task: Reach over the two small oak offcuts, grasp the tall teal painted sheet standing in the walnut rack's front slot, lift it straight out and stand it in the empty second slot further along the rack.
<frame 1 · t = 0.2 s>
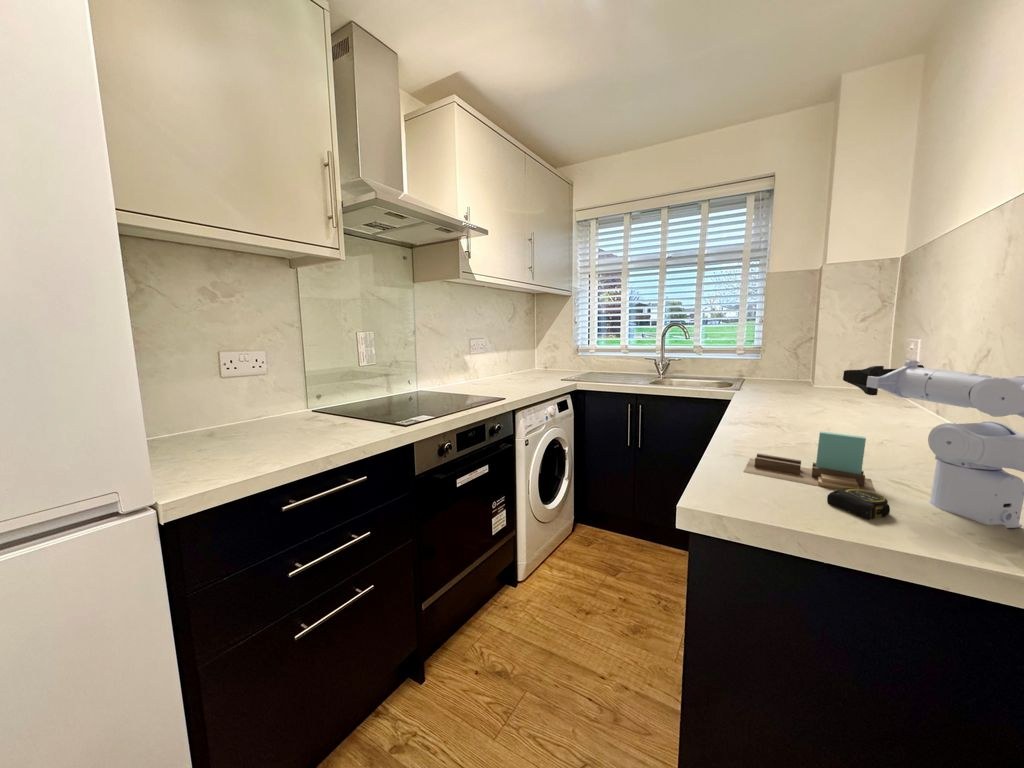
hand: (860, 374, 85), 21 cm above the countertop, fingers open, 7 cm apart
lower oak offcut: (837, 486, 78), point 1 cm above the countertop, touching upper oak offcut, walnut rack
teal sheet: (836, 478, 82), point 1 cm above the countertop, touching walnut rack
tape measure: (857, 518, 68), on the countertop
walnut rack: (805, 480, 83), on the countertop
upper oak offcut: (838, 482, 77), point 2 cm above the countertop, touching lower oak offcut
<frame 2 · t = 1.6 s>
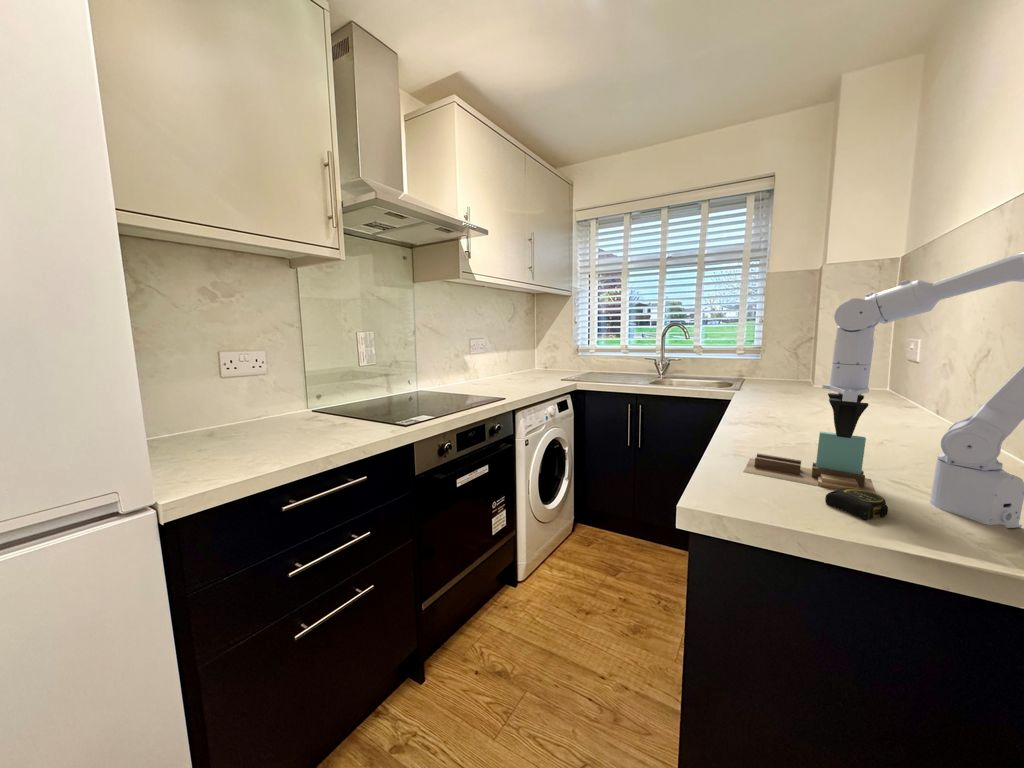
hand: (842, 432, 80), 10 cm above the countertop, fingers open, 7 cm apart
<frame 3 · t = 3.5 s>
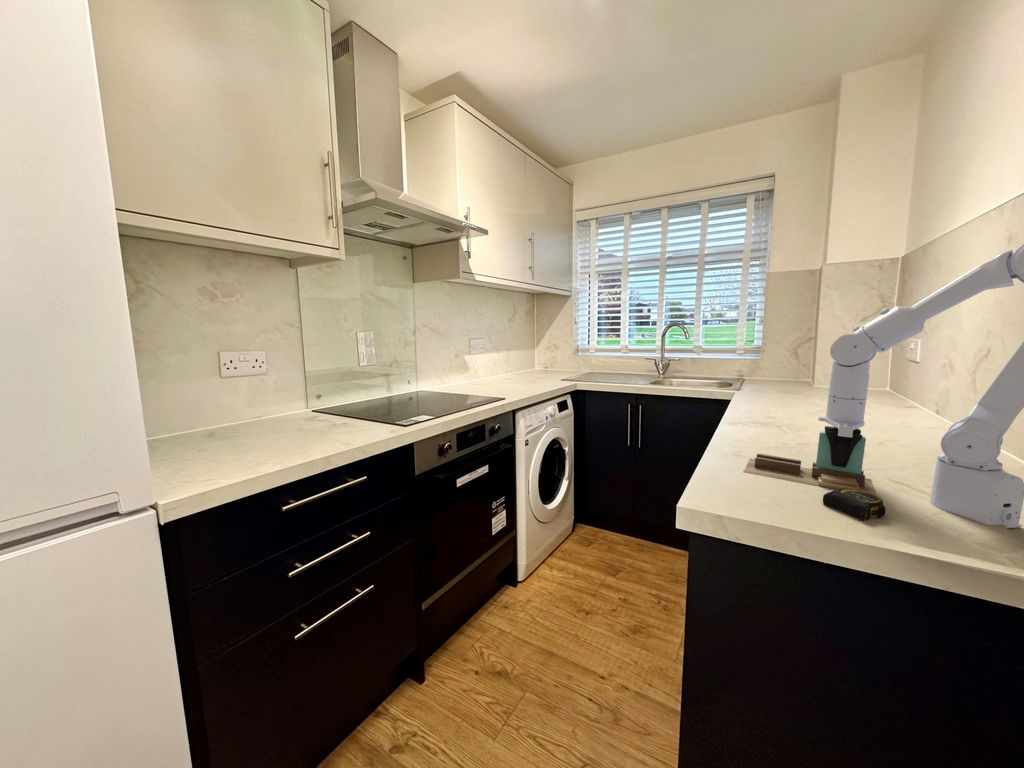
hand: (838, 464, 81), 4 cm above the countertop, fingers closed on teal sheet, 1 cm apart
teal sheet: (836, 478, 82), point 1 cm above the countertop, touching gripper, walnut rack
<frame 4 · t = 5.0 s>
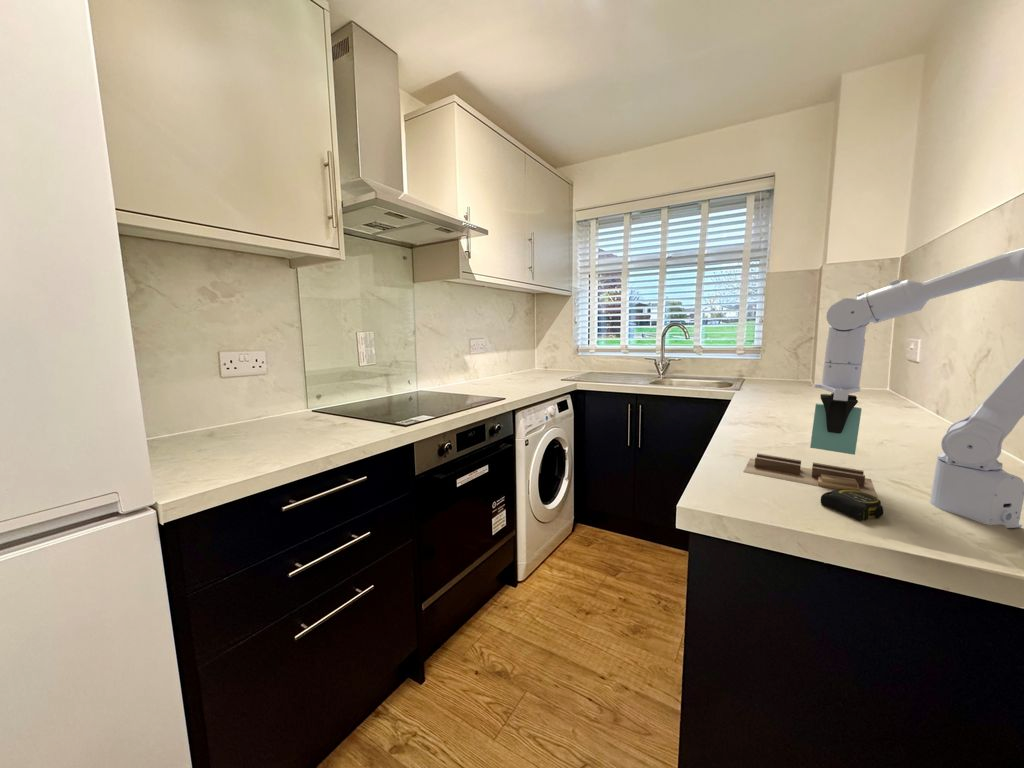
hand: (834, 431, 81), 10 cm above the countertop, fingers closed on teal sheet
teal sheet: (831, 450, 82), point 7 cm above the countertop, touching gripper
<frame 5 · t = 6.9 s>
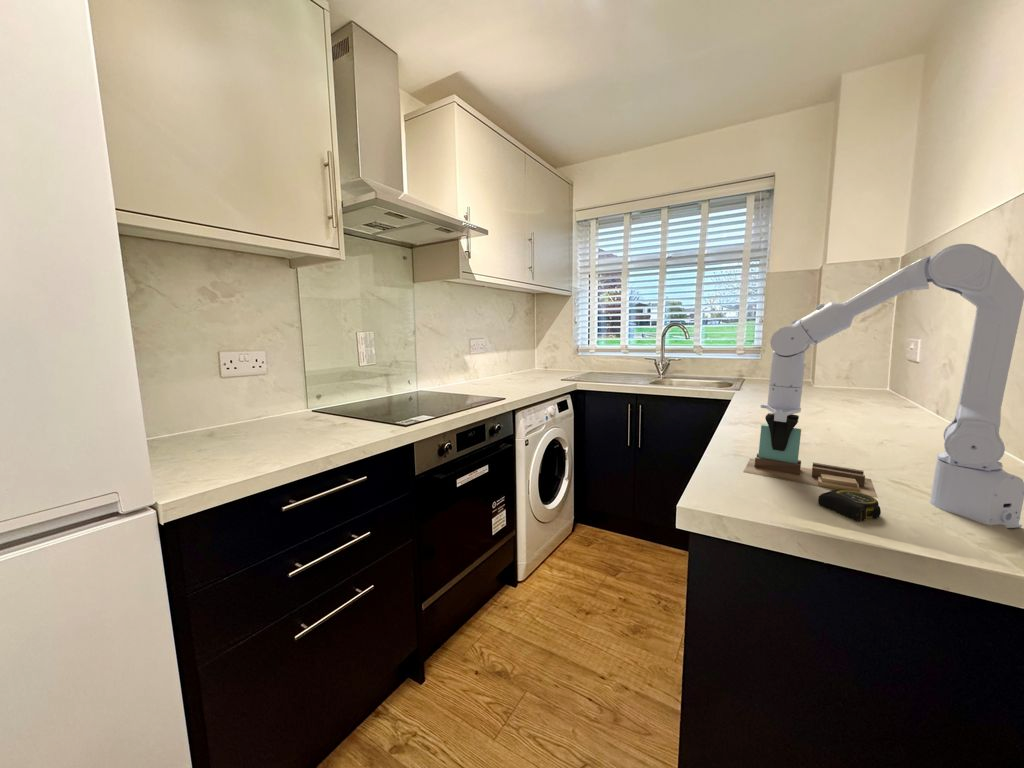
hand: (778, 448, 87), 5 cm above the countertop, fingers closed on teal sheet, 1 cm apart
teal sheet: (776, 468, 87), point 1 cm above the countertop, touching gripper, walnut rack
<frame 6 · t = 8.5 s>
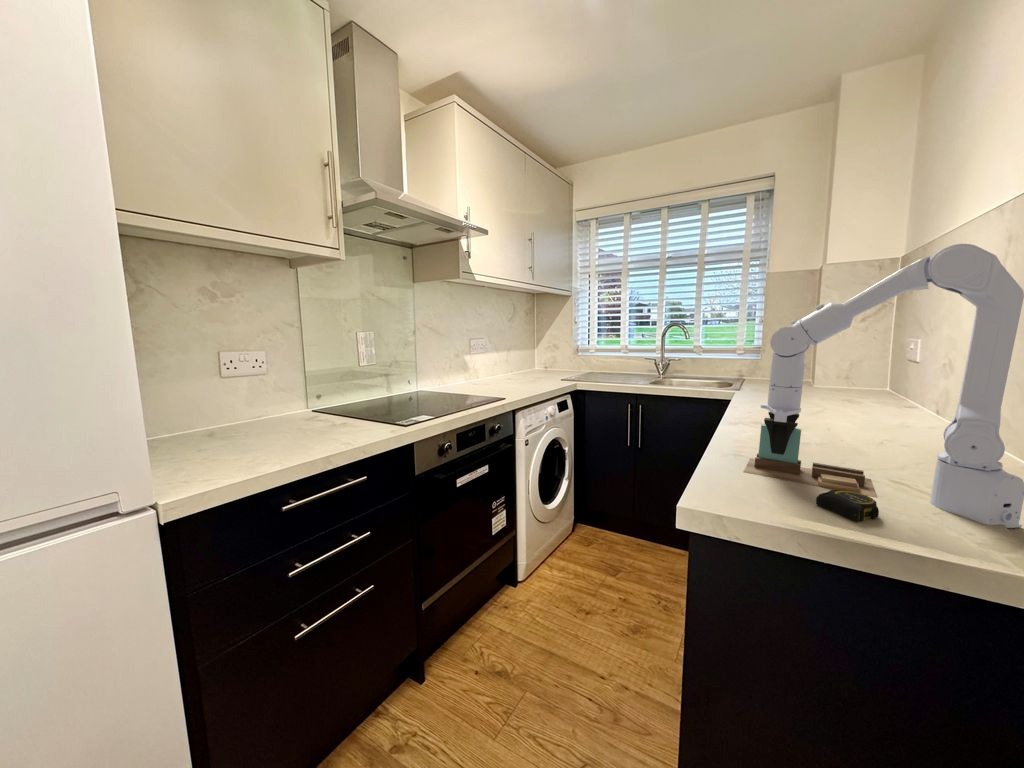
hand: (779, 449, 87), 5 cm above the countertop, fingers open, 7 cm apart
teal sheet: (776, 468, 87), point 1 cm above the countertop, touching walnut rack
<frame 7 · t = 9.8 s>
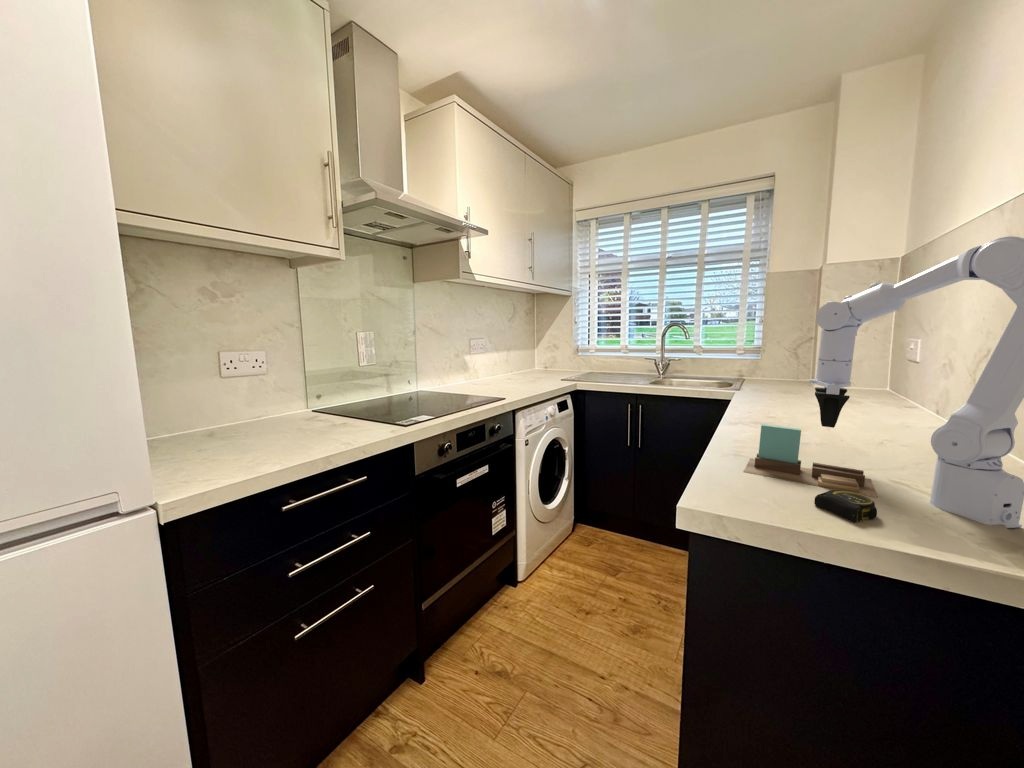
hand: (827, 423, 88), 10 cm above the countertop, fingers open, 7 cm apart
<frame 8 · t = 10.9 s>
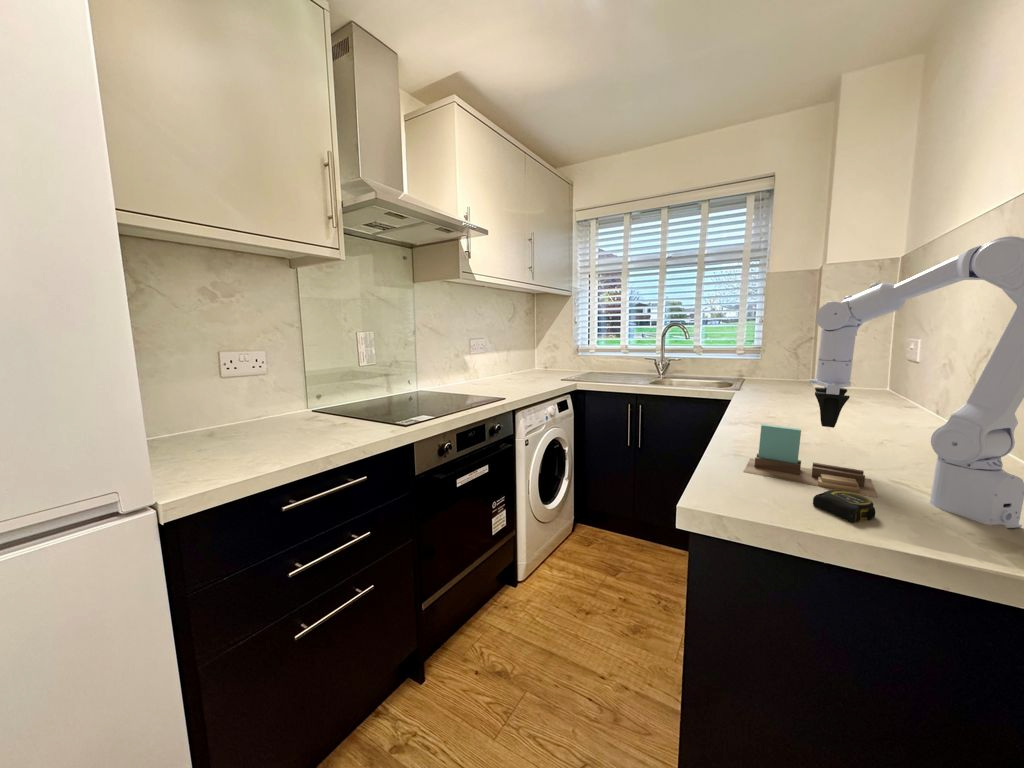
hand: (827, 423, 88), 10 cm above the countertop, fingers open, 7 cm apart
at the end: teal sheet 0.0 cm from the target spot on the walnut rack, point 1.0 cm above the walnut rack's base; teal sheet tilted 0°; the gripper is holding nothing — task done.
